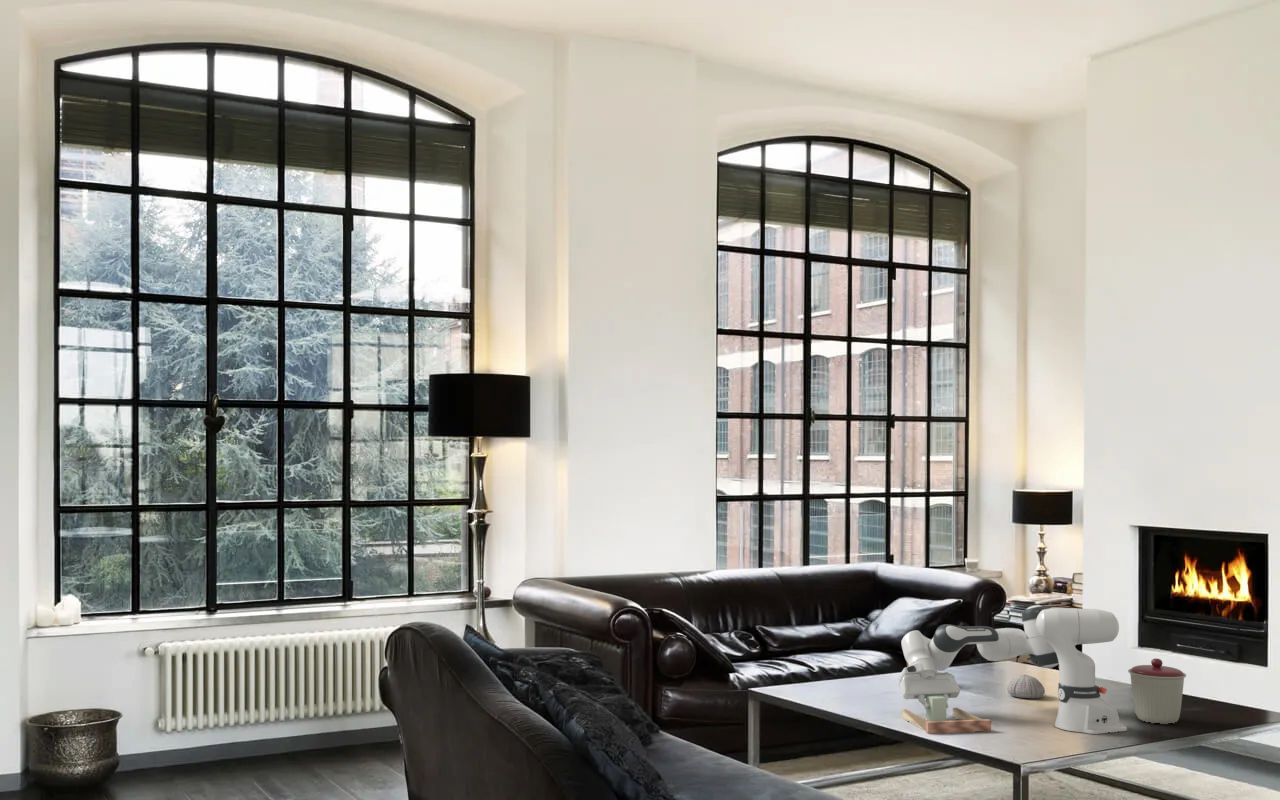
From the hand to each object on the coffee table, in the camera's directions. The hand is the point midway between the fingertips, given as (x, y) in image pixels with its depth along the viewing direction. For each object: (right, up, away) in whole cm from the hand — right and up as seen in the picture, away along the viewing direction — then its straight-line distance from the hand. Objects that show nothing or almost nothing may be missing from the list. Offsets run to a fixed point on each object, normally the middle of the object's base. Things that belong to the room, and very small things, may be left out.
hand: (936, 707), depth 394 cm
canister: (+76, -6, +4) cm, 76 cm away
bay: (+1, -4, -5) cm, 7 cm away
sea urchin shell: (+44, -7, +43) cm, 62 cm away
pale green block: (0, -4, 0) cm, 4 cm away
